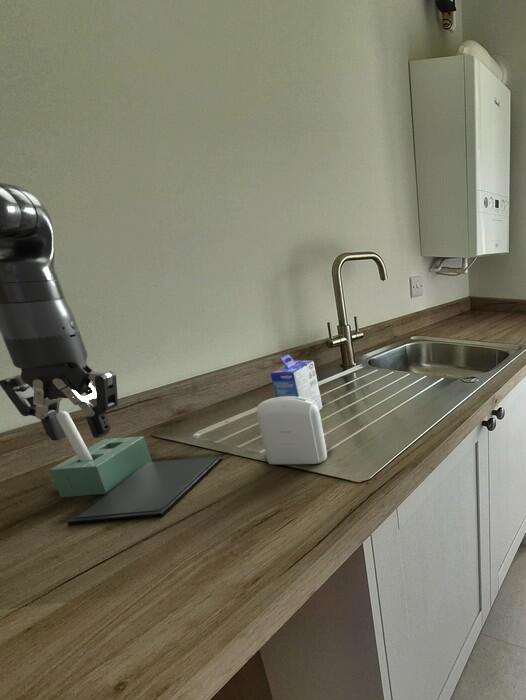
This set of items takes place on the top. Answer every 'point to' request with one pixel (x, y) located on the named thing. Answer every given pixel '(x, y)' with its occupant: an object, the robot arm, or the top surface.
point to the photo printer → (291, 430)
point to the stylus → (73, 436)
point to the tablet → (147, 491)
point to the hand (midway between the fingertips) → (81, 436)
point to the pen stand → (101, 467)
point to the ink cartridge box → (296, 380)
